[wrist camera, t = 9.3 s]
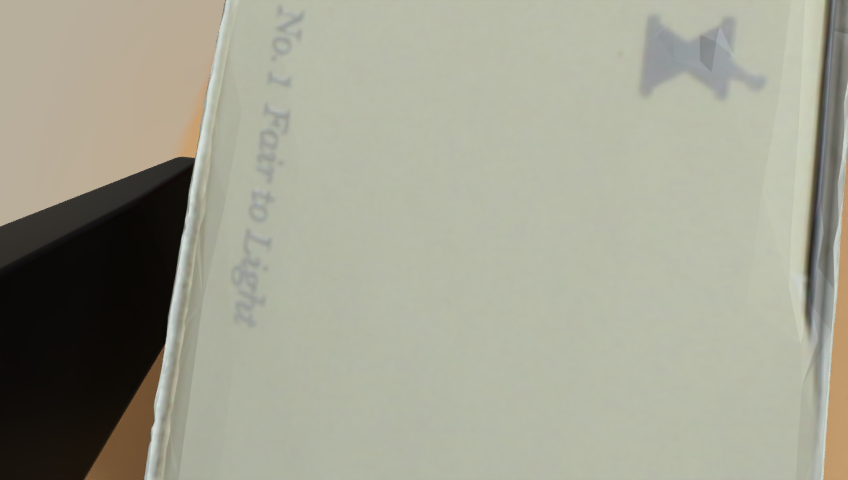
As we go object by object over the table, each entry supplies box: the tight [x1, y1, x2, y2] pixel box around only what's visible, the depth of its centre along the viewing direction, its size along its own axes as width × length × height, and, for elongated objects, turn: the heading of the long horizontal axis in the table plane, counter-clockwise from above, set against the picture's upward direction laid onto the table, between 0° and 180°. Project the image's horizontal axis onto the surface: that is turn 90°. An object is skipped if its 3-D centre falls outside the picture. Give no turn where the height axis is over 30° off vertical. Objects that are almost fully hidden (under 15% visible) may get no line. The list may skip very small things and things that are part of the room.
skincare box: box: [144, 0, 848, 480], centre depth 10 cm, size 6×4×12 cm
